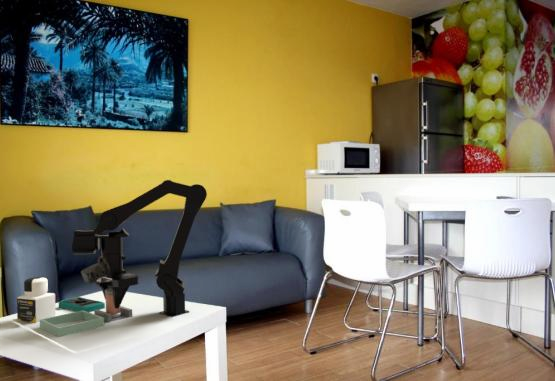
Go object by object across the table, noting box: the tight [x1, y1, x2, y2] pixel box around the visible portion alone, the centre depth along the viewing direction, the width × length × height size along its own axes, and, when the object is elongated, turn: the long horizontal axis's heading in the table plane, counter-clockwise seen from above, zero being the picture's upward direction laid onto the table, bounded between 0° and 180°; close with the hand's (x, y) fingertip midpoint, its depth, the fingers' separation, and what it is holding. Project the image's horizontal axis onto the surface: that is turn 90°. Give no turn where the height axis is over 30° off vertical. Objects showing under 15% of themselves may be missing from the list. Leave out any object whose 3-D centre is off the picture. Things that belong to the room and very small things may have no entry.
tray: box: [39, 310, 105, 338], centre depth 128 cm, size 12×12×2 cm
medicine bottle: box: [16, 276, 57, 324], centre depth 136 cm, size 7×7×12 cm
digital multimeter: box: [58, 296, 106, 313], centre depth 148 cm, size 7×15×3 cm, turn 54°
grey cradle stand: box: [93, 305, 133, 323], centre depth 137 cm, size 8×7×2 cm
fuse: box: [105, 288, 121, 319], centre depth 137 cm, size 4×4×8 cm
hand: (113, 307), depth 137 cm, fingers closed on fuse, 4 cm apart
